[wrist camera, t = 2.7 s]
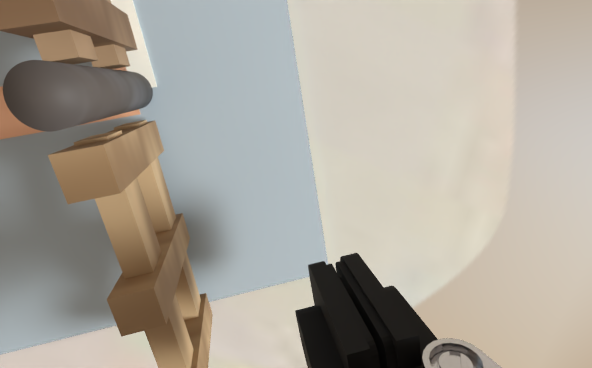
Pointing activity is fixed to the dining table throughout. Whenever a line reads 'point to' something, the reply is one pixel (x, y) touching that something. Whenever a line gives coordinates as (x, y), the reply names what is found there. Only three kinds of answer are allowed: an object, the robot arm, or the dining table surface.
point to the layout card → (168, 169)
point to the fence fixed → (71, 63)
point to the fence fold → (141, 240)
